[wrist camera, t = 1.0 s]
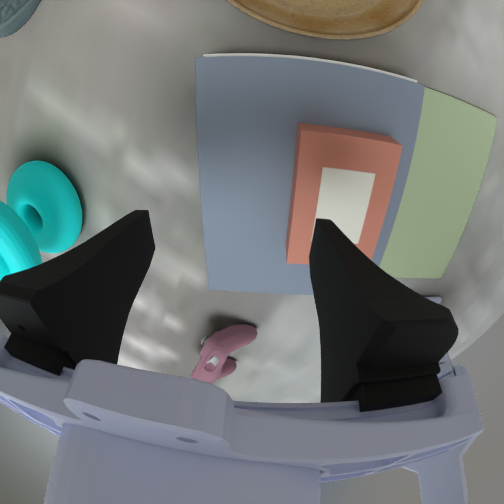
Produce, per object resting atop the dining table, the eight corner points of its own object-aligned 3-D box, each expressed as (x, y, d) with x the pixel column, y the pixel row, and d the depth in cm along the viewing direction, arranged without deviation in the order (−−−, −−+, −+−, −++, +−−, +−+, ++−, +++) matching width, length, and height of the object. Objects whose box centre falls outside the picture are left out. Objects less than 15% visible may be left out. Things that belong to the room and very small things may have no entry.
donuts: (-48, 245, 14) (-35, 186, 10) (8, 192, 22) (44, 135, 18) (15, 318, 19) (47, 289, 15) (59, 254, 27) (105, 213, 23)
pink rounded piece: (229, 305, 32) (192, 343, 27) (262, 328, 31) (229, 370, 26) (210, 348, 38) (180, 381, 32) (237, 366, 37) (209, 402, 31)
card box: (362, 250, 21) (368, 267, 19) (285, 245, 21) (286, 264, 19) (389, 136, 15) (403, 145, 13) (297, 123, 15) (301, 130, 14)
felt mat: (439, 275, 26) (441, 278, 25) (365, 273, 26) (366, 276, 26) (495, 116, 15) (497, 117, 14) (412, 83, 15) (414, 83, 15)
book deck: (362, 273, 26) (369, 295, 24) (214, 266, 26) (209, 289, 24) (407, 79, 15) (427, 83, 12) (206, 56, 15) (195, 54, 13)
